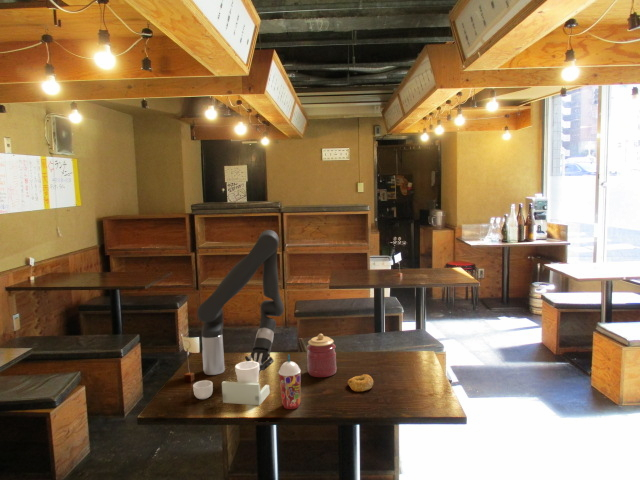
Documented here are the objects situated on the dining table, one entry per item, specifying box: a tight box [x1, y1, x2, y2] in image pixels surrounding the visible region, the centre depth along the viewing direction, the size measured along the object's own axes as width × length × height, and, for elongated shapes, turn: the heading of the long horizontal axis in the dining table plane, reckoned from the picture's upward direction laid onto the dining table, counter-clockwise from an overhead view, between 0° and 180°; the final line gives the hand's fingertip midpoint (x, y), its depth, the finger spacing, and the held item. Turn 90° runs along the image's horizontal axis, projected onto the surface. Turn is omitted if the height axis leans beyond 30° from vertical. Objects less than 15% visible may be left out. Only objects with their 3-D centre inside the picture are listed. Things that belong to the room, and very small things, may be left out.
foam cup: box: [234, 360, 260, 383], centre depth 193 cm, size 10×9×13 cm
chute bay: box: [221, 380, 271, 406], centre depth 193 cm, size 11×15×8 cm
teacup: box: [192, 379, 214, 400], centre depth 197 cm, size 10×8×5 cm
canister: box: [306, 333, 337, 378], centre depth 216 cm, size 13×13×18 cm
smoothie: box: [277, 354, 302, 410], centre depth 183 cm, size 8×8×20 cm
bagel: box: [347, 374, 374, 392], centre depth 199 cm, size 10×11×5 cm
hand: (254, 378), depth 201 cm, fingers closed
